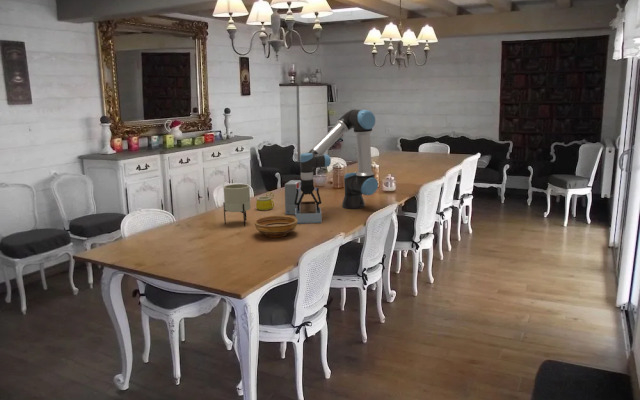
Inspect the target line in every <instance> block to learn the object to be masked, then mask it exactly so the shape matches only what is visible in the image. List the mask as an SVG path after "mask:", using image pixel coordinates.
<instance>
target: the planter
mask: <svg viewBox="0 0 640 400" xmlns="http://www.w3.org/2000/svg"><path fill="white" fill-rule="evenodd" d="M250 193H251V191H250V185H249V184H244V183H232V184H228V185H224V186H223V199H224V200H223V218H224V225H226V224H227V222H226V221H227V220H226V212H231V213H241V214H242V215H243V216H242V217H243V227H246V221H247V211H248V210H251V194H250Z"/></svg>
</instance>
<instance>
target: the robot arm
mask: <svg viewBox="0 0 640 400" xmlns="http://www.w3.org/2000/svg"><path fill="white" fill-rule="evenodd" d="M375 124H376V117H375V114H374V113H373V112H372V111H370V110H368V109H356V108H355V109H351V110H347V112H345V113H344V114H343V115H342V116H341V117H340V118H338V119H337V120H336V124H335V125H334V126H333V127H332V128H331V129H330V130H329V131H328V132H326V134H325V135H324V136H323V137H322V138H321V139H320V140H319V141H318V142H317V143H316V144H314V146H313V147H312V148H311V149H310V150H309V151H308V152H303V153H301V154H300V157H299V162H300V163H299V164H300V179H301V188H296V197H295V202H294V204H295V205H297V208H298V211H300V214H301V205H300V203H301V200H302V201H303V198H304V196H305V195H311V197H312V199H313V201H315V204H316V213H317V210H319V205H320V204H321V205H322V200H321V196H320V191H319V189H320V188H319V187H315V186H314V185H315V183H314V169H319V168H327V167H329V166H331V163H332V162H331V156H330V155H328V154H325V153H326V152H327V151H328V150H329V149H330V148H331V147H332V146H333V145H334V144H335V143H336V142H337V141H338V140H339V139H340V138H341V137H342V136H343V135H344V134H345V133H348V132H349V131H350V130H352V129H353V134H355V135H356V155H357V170H358V171H357V172H347V173H345V174H344V178H343V180H344V181H343V182H344V196H343V200H342V205H341V207H342V208H344V209H350V210H355V209H356V210H357V209H362V208H365V207H366V203H365V199H364V198H363V197H364V196H371V195H374V194H375V193H376V192H377V190H378V187H379V182H378V179H376V178H375V172H373V170H372V169H373V168H372V153H371V151H372V149H371V133H372V132H373V128H374V127H375ZM300 190H301V192H302V195H301V197H300V199H299V201H298V203H297V198H298V193H299V192H300ZM314 191H315V192H316V195H317V198H316V197H315V194H314Z"/></svg>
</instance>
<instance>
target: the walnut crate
mask: <svg viewBox="0 0 640 400" xmlns="http://www.w3.org/2000/svg"><path fill="white" fill-rule="evenodd" d="M300 205H301V214H307V213H316V202H315V201H314V200H312V201H311V200H310V201H309V200H306V201H305V200H304V201H302V202H301V203H300Z"/></svg>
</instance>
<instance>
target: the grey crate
mask: <svg viewBox="0 0 640 400" xmlns="http://www.w3.org/2000/svg"><path fill="white" fill-rule="evenodd" d="M294 216H295V218H297V219H298V221H297V225H302V224H303V225H304V224H306V225H307V224H322V223H323V221H322V218H323V217H322V209H321V207H319V210H317V213H307V214H300V211H298V208H295V215H294Z"/></svg>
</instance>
